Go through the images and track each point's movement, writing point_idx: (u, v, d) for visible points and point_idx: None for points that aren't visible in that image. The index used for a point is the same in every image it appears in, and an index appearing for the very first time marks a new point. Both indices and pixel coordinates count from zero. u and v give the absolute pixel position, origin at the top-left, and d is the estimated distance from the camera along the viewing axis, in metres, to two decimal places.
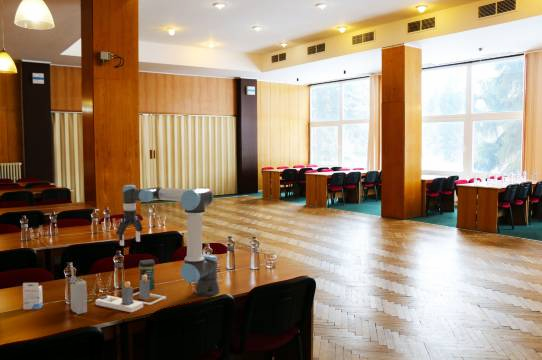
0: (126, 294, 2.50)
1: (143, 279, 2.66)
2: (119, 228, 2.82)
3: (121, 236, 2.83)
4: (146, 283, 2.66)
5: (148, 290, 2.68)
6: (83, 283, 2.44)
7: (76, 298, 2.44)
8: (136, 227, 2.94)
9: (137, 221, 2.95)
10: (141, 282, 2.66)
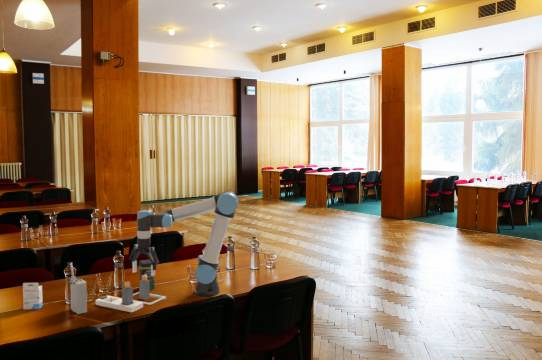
0: (126, 294, 2.50)
1: (143, 279, 2.66)
2: None
3: (132, 262, 2.70)
4: (146, 283, 2.66)
5: (148, 290, 2.68)
6: (83, 283, 2.44)
7: (76, 298, 2.44)
8: (150, 259, 2.64)
9: None
10: (141, 282, 2.66)
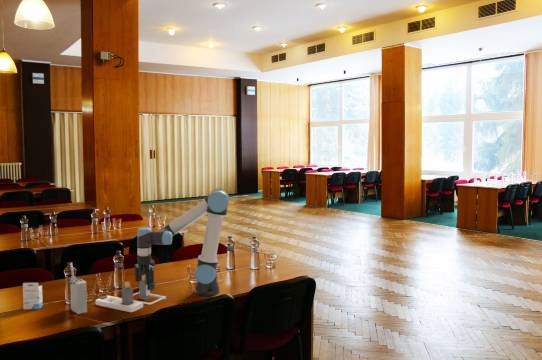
0: (126, 294, 2.50)
1: (143, 279, 2.66)
2: None
3: None
4: (146, 283, 2.66)
5: None
6: (83, 283, 2.44)
7: (76, 298, 2.44)
8: None
9: None
10: (141, 282, 2.66)
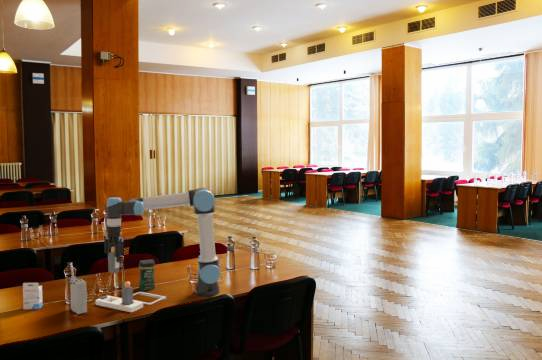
0: (126, 294, 2.50)
1: (112, 251, 2.56)
2: None
3: (108, 256, 2.58)
4: (115, 255, 2.56)
5: None
6: (83, 283, 2.44)
7: (76, 298, 2.44)
8: None
9: None
10: (110, 254, 2.56)
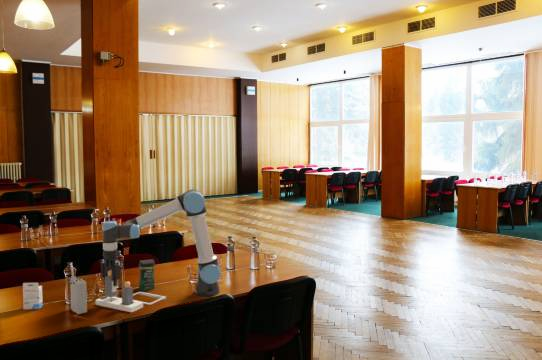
0: (126, 294, 2.50)
1: (109, 275, 2.56)
2: None
3: None
4: (112, 279, 2.56)
5: None
6: (83, 283, 2.44)
7: (76, 298, 2.44)
8: None
9: None
10: (107, 278, 2.56)
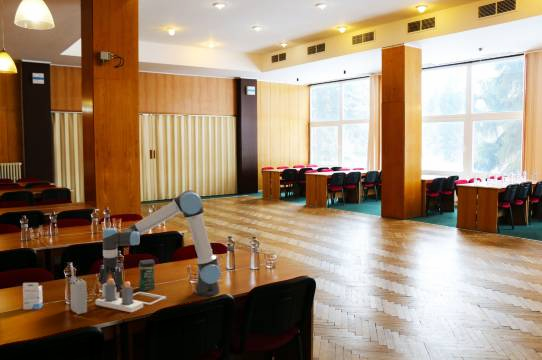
0: (126, 294, 2.50)
1: (109, 283, 2.56)
2: None
3: (102, 285, 2.59)
4: (112, 287, 2.56)
5: None
6: (83, 283, 2.44)
7: (76, 298, 2.44)
8: None
9: None
10: (107, 286, 2.56)
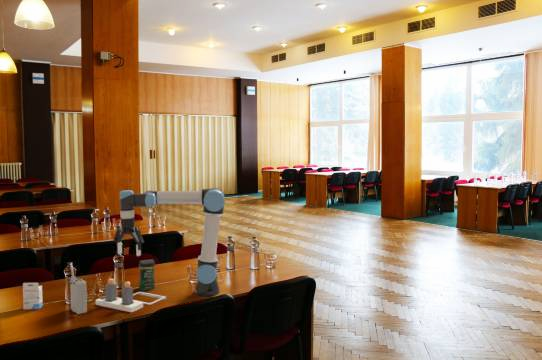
0: (126, 294, 2.50)
1: (109, 283, 2.56)
2: None
3: (117, 243, 2.67)
4: (112, 287, 2.56)
5: (115, 295, 2.58)
6: (83, 283, 2.44)
7: (76, 298, 2.44)
8: None
9: None
10: (107, 286, 2.56)
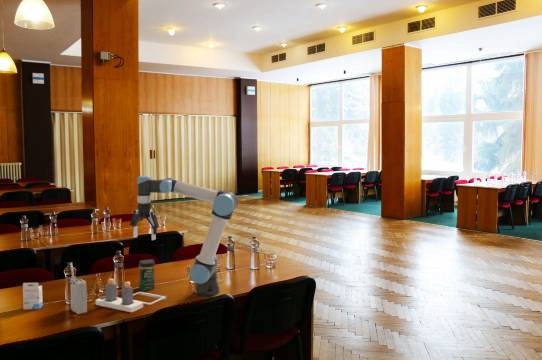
0: (126, 294, 2.50)
1: (109, 283, 2.56)
2: None
3: (133, 227, 2.74)
4: (112, 287, 2.56)
5: (115, 295, 2.58)
6: (83, 283, 2.44)
7: (76, 298, 2.44)
8: None
9: (152, 217, 2.68)
10: (107, 286, 2.56)
